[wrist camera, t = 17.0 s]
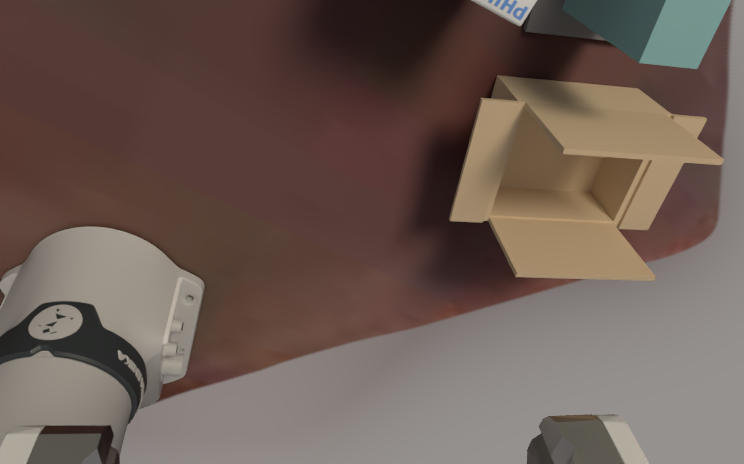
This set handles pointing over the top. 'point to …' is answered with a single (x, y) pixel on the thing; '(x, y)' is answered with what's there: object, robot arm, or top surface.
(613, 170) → the carton
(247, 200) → the top surface
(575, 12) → the teal box
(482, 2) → the light bulb box
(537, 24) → the mat
